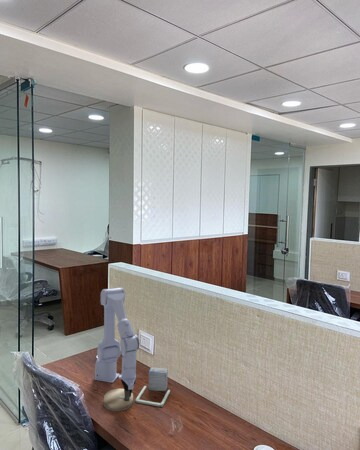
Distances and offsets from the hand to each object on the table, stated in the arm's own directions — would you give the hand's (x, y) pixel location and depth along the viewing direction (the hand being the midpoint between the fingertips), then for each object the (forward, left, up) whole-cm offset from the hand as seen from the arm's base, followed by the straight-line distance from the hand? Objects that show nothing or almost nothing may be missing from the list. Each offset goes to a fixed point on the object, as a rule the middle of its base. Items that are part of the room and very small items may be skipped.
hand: (127, 396), depth 148 cm
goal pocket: (+8, +8, -3) cm, 12 cm away
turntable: (-4, 0, -3) cm, 5 cm away
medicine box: (+8, +15, -3) cm, 17 cm away
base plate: (-4, 0, -3) cm, 5 cm away
